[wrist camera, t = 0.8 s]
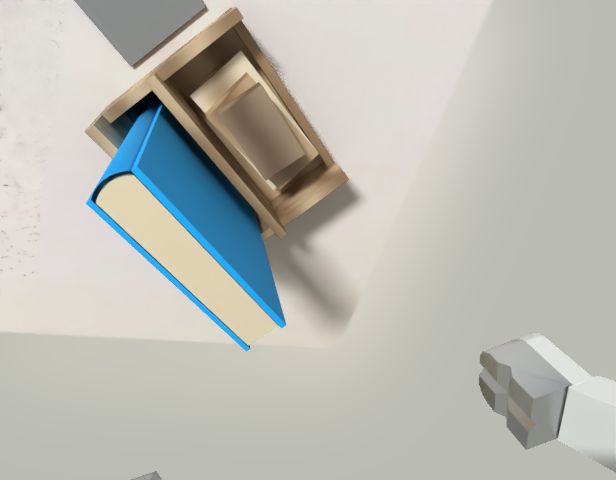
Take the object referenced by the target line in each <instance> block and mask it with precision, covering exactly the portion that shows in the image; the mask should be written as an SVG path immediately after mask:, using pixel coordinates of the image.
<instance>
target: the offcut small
mask: <svg viewBox="0 0 616 480" xmlns="http://www.w3.org/2000/svg"><path fill="white" fill-rule="evenodd" d="M218 114H219V117H220V118H221V120H222V121H223V122H224V124H225V125H226V127H227V128H228V129H229V131H230V132H231V134H232V135H233V136H234V138H235V139H236V140H237V142H238V143H239V145H240V146H241V147H242V149H243V150H244V152H245V153H246V154H247V156H248V157H249V159H250V160H251V161H252V163H253V164H254V165H255V167H256V168H257V170H258V171H259V172H260V174H261V175H262V177H263V178H264V179H265V181H266V180H268V179H269V178H271V177H272V176H274V175H275V174H276V173H278V172H279V171H281V170H282V169H284V168H285V167H287V166H288V165H290V164H291V163H293V162H294V161H296V160H297V159H299V158H300V157H302V156H303V155H305V153H304V151H303V150H302V148H301V146H300V145H299V143H298V142H297V140H296V138H295V137H294V135H293V134H292V132H291V130H290V129H289V127H288V126H287V124H286V122H285V121H284V119H283V118H282V116H281V114H280V113H279V111H278V110H277V108H276V106H275V105H274V103H273V102H272V100H271V98H270V97H269V95H268V94H267V92H266V90H265V89H264V87H263V86H262V85H261V84H260V83H259V82H258V83H257V84H255V85H254V86H252V87H251V88H249V89H248V90H246V91H245V92H244V93H242V94H241V95H239V96H238V97H236V98H235V99H234V100H232V101H231V102H229V103H228V104H226V105H225V106H224V107H222V108H221V109H219V110H218Z"/></svg>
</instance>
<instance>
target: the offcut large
mask: <svg viewBox="0 0 616 480" xmlns="http://www.w3.org/2000/svg"><path fill="white" fill-rule="evenodd" d="M246 72H247V73H248V74H249V75H250V76H251V77H252V78H253V80H254V81H255V82H256V83H258V82H259V83H260V84H261V85H262V86H263V87H264V89H265V90H266V92H267V94H268V95H269V97H270V98H271V100H272V101H273V102H274V103H275V104H276V106H277V107H278V108H279V109H280V110H281V111H282V112H283V114H284V115H285V116H286V117H287V118H288V119H289V120H290V122H291V123H292V124H293V125H294V126H295V127H296V128H297V129H298V131H299V132H300V133H301V134H302V135H303V136H304V137H305V139H306V140H307V141H308V142H309V143H310V144H311V142H310V141H309V140H308V138H307V137H306V136H305V134H304V133H303V132H302V130H301V129H300V128H299V126H298V125H297V124H296V123H295V121H294V120H293V119H292V117H291V116H290V115H289V113H288V112H287V111H286V109H285V108H284V107H283V105H282V104H281V103H280V101H279V100H278V99H277V97H276V96H275V95H274V93H273V92H272V91H271V90H270V88H269V87H268V86H267V84H266V83H265V82H264V80H263V79H262V78H261V76H260V75H259V74H258V72H257V71H256V70H255V68H254V67H253V66H252V64H251V63H250V62H249V61H248V59H247V58H246V57H245V55H244V54H243V53H242V51H241V50H239V49H237V50H236V51H235V52H234V53H233V54H232V55H230V56H229V57H228V58H227V59H226V60H225V61H224V62H222V63H221V64H220V65H219V66H218V67H217V68H216V69H214V70H213V71H212V72H211V73H210V74H209V75H208V76H207V77H205V78H204V79H203V80H202V81H201V82H200V83H199V84H197V85H196V86H195V87H194V88H193V89H192V90H191V91H190V97H191V98H192V99H193V100H194V101H195V103H196V104H197V105H198V106H199V107H200V108H201V109H202V110H203V112H204V113H205V114H206V112H207V111H208V110H209V109H210V108H211V107H212V106H213V105H214V104H215V103H216V102H217V101H218V100H219V99H220V98H221V97H222V96H223V95H224V94H225V93H226V92H227V91H228V90H229V89H230V88H231V87H232V86H233V85H234V84H235V83H236V82H237V81H238V80H239V79H240V78H241V77H242V76H243V75H244V74H245V73H246ZM311 145H312V144H311ZM312 146H313V145H312ZM235 148H236V147H235ZM313 148H314V146H313ZM236 149H237V148H236ZM314 149H315V148H314ZM237 150H238V149H237ZM315 150H316V149H315ZM238 151H239V150H238ZM316 151H317V150H316ZM239 152H240V151H239ZM240 153H241V152H240ZM241 154H242V153H241ZM242 155H243V154H242ZM243 157H244V158H245V159H246V160H247V161H248V162H249V163H250V164H251V166H252V167H253V168H254V169H255V170H256V171H257V172H258V173H259V174H260V172H259V171H258V170H257V168H256V167H255V165H254V164H253V163H252V162H251V161H250V160H249V159H248V158H247V157H246V156H244V155H243ZM260 176H261V177H262V175H261V174H260ZM262 178H263V177H262ZM263 179H264V178H263ZM264 180H265V179H264ZM266 182H267V183H268V185H269V186H270V187H271V188H272V189H273V190H274V189H276V188H277V187H276V186H275V185H274V184H273V183H272V182H271V181H270V180H269V179H268V180H266Z"/></svg>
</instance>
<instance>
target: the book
mask: <svg viewBox="0 0 616 480" xmlns="http://www.w3.org/2000/svg"><path fill="white" fill-rule="evenodd" d="M86 204H87V205H88V206H89V207H90V208H92V209H93V210H94V211H95V212H96V213H97V214H98V215H99V216H100V217H101V218H102V219H103V220H105V221H106V222H107V223H108V224H109V225H110V226H111V227H112V228H113V229H114V230H115V231H116V232H118V233H119V234H120V235H121V236H122V237H123V238H124V239H125V240H126V241H127V242H128V243H130V244H131V245H132V246H133V247H134V248H135V249H136V250H137V251H138V252H139V253H140V254H141V255H143V256H144V257H145V258H146V259H147V260H148V261H149V262H150V263H151V264H152V265H153V266H154V267H156V268H157V269H158V270H159V271H160V272H161V273H162V274H163V275H164V276H165V277H166V278H167V279H169V280H170V281H171V282H172V283H173V284H174V285H175V286H176V287H177V288H178V289H179V290H181V291H182V292H183V293H184V294H185V295H186V296H187V297H188V298H189V299H190V300H191V301H192V302H194V303H195V304H196V305H197V306H198V307H199V308H200V309H201V310H202V311H203V312H204V313H205V314H207V315H208V316H209V317H210V318H211V319H212V320H213V321H214V322H215V323H216V324H217V325H219V326H220V327H221V328H222V329H223V330H224V331H225V332H226V333H227V334H228V335H229V336H230V337H232V338H233V339H234V340H235V341H236V342H237V343H238V344H239V345H240V346H241V347H242V348H243V349H245V350H246V351H248V350H249V349H250V345H251V344H252V343H254V342H255V341H257V340H258V339H260V338H261V337H263V336H264V335H266V334H267V333H269V332H270V331H272V330H274V329H275V328H277V327H278V325H279V326H280V327H281V328H283V327H284V326H286V323H285V319H284V315H283V312H282V308H281V305H280V301H279V297H278V294H277V290H276V287H275V283H274V279H273V276H272V272H271V269H270V265H269V261H268V258H267V254H266V251H265V247H264V243H263V240H262V236H261V233H260V229H259V225H258V222H257V218H256V215H255V211H254V208H253V207H252V206H251V205H250V204H249V203H248V201H247V200H246V199H245V198H244V197H243V196H242V194H241V193H240V192H239V191H238V190H237V189H236V187H235V186H234V185H233V184H232V183H231V182H230V180H229V179H228V178H227V177H226V176H225V175H224V173H223V172H222V171H221V170H220V169H219V168H218V166H217V165H216V164H215V163H214V162H213V161H212V159H211V158H210V157H209V156H208V155H207V154H206V152H205V151H204V150H203V149H202V148H201V147H200V145H199V144H198V143H197V142H196V141H195V140H194V138H193V137H192V136H191V135H190V134H189V133H188V131H187V130H186V129H185V128H184V127H183V126H182V124H181V123H180V122H179V121H178V120H177V119H176V117H175V116H174V115H173V114H172V113H171V112H170V110H169V109H168V108H167V107H166V106H165V105H164V103H163V102H162V101H161V100H160V99H155V100H152V101H150V102H149V103H148V104H147V105H146V106H145V107H144V108H143V110H142V112H141V113H140V115H139V116H138V118H137V120H136V121H135V123H134V125H133V126H132V128H131V130H130V131H129V133H128V135H127V136H126V138H125V140H124V141H123V143H122V145H121V146H120V148H119V150H118V151H117V153H116V154H115V156H114V158H113V159H112V161H111V163H110V164H109V166H108V168H107V169H106V171H105V173H104V174H103V176H102V178H101V179H100V181H99V183H98V184H97V186H96V188H95V189H94V191H93V193H92V194H91V196H90V198H89V199H88V201H87V203H86Z"/></svg>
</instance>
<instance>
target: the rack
mask: <svg viewBox="0 0 616 480" xmlns="http://www.w3.org/2000/svg"><path fill="white" fill-rule="evenodd" d="M242 19H243V16H242V15H241V13H240V12H239V10H238V9H237V8H230V9H229V10H228V11H226V12H225V13H224V14H223V15H221V16H220V17H219V18H218V19H216V20H215V21H214V22H212V23H211V24H210V25H209V26H207V27H206V28H205V29H204V30H202V31H201V32H200V33H199V34H197V35H196V36H195V37H194V38H192V39H191V40H190V41H189V42H187V43H186V44H185V45H184V46H182V47H181V48H180V49H179V50H177V51H176V52H175V53H174V54H172V55H171V56H170V57H169V58H167V59H166V60H165V61H164V62H162V63H161V64H160V65H159V66H157V67H156V68H155V69H154V70H152V71H151V72H150V73H149V74H147V75H146V76H145V77H144V78H142V79H141V80H140V81H138V82H137V83H136V84H135V85H133V86H132V87H131V88H130V89H128V90H127V91H126V92H125V93H123V94H122V95H121V96H120V97H118V98H117V99H116V100H115V101H113V102H112V103H111V104H110V105H108V106H107V107H106V108H105V109H104V110H103V112H102V113H101V114H100V115H99V116H98V117H97V118H96V119H95V121H94V122H93V123H92V124H91V125H90V126H89V127H88V128H87V130H86V131H85V133H86V134H87V135H88V136H89V137H90V138H91V139H92V140H93V141H94V142H95V143H97V144H98V145H99V146H100V147H101V148H102V149H103V150H104V151H105V152H106V153H107V154H108V155H109V156H110V157H111V158H112V159H113V158H114V156H115V154H116V153H117V151H118V150H119V148H120V146H121V145H122V143H123V141H124V140H125V138H126V136H127V135H128V133H129V131H130V130H131V128H132V126H133V125H134V123H133V121H132V120H131V119H130V118H129V117H128V116H127V115H126V114H125V113H124V112H125V111H127V110H128V109H129V108H130V107H132V106H133V105H134V104H136V103H137V102H138V101H139V100H141V99H142V98H143V97H144V96H146V95H147V94H148V93H149V92H151V91H153V92H154V93H155V94H156V95H157V96H158V98H159V99H160V100H161V101H162V102H163V103H164V105H165V106H166V107H167V108H168V109H169V110H170V112H171V113H172V114H173V115H174V116H175V117H176V119H177V120H178V121H179V122H180V123H181V124H182V126H183V127H184V128H185V129H186V130H187V131H188V133H189V134H190V135H191V136H192V137H193V138H194V140H195V141H196V142H197V143H198V144H199V145H200V147H201V148H202V149H203V150H204V151H205V152H206V154H207V155H208V156H209V157H210V158H211V159H212V161H213V162H214V163H215V164H216V165H217V166H218V168H219V169H220V170H221V171H222V172H223V173H224V175H225V176H226V177H227V178H228V179H229V180H230V182H231V183H232V184H233V185H234V186H235V187H236V189H237V190H238V191H239V192H240V193H241V194H242V196H243V197H244V198H245V199H246V200H247V201H248V203H249V204H250V205H251V206H252V207H253V208H254V211H255V215H256V218H257V222H258V225H259V229H260V233H261V236H262V240H263V241H265V240H266V239H268V238H269V237H270V236H272V235H273V234H274V233H275V234H276V235H277V236H278V238H279V239H281V238H283V237H284V236H286V235H287V233H286V231H285V228H284V226H285V225H287V224H288V223H290V222H291V221H292V220H294V219H295V218H296V217H298V216H299V215H301V214H302V213H303V212H305V211H306V210H307V209H309V208H310V207H312V206H313V205H314V204H316V203H317V202H318V201H320V200H321V199H323V198H324V197H325V196H327V195H328V194H329V193H331V192H332V191H334V190H335V189H336V188H338V187H339V186H341V185H342V184H343V183H345V182H346V181H347V180H349V179H348V177H347V176H346V174H345V173H344V172H343V171H342V170H341V169H340V168H339V167H338V165H337V164H336V163H335V162H334V161H333V159H332V158H331V156H330V155H329V153H328V152H327V150H326V149H325V147H324V146H323V144H322V143H321V141H320V140H319V138H318V136H317V135H316V133H315V132H314V130H313V129H312V127H311V126H310V124H309V123H308V121H307V120H306V118H305V117H304V115H303V114H302V112H301V111H300V109H299V108H298V106H297V105H296V103H295V102H294V100H293V98H292V97H291V95H290V94H289V92H288V91H287V89H286V88H285V86H284V85H283V83H282V82H281V80H280V79H279V77H278V76H277V74H276V73H275V71H274V70H273V68H272V67H271V65H270V63H269V62H268V60H267V59H266V57H265V56H264V54H263V53H262V51H261V50H260V48H259V47H258V45H257V44H256V42H255V41H254V39H253V38H252V36H251V35H250V33H249V32H248V30H247V28H246V27H245V25H244V24H243V22H242V21H241V20H242ZM237 49H239V50H241V51H242V53H243V54H244V55H245V57H246V58H247V59H248V61H249V62H250V63H251V64H252V66H253V67H254V68H255V70H256V71H257V72H258V74H259V75H260V76H261V78H262V79H263V80H264V82H265V83H266V84H267V86H268V87H269V88H270V90H271V91H272V92H273V93H274V95H275V96H276V97H277V99H278V100H279V101H280V103H281V104H282V105H283V107H284V108H285V109H286V111H287V112H288V113H289V115H290V116H291V117H292V119H293V120H294V121H295V123H296V124H297V125H298V126H299V128H300V129H301V130H302V132H303V133H304V134H305V136H306V137H307V138H308V140H309V141H310V142H311V144H312V145H313V146H314V148H315V149H316V150H317V152H318V153H319V154H318V155H317V156H316V157H315V158H314V159H313V160H312V161H311V162H310V163H309V164H307V165H306V166H305V167H304V168H303V169H302V170H301V171H300V172H299V173H298V174H297V175H296V176H294V177H293V178H292V179H291V180H290V181H289V182H288V183H287V184H286V185H285V186H284V187H283V188H282V189H280V190H279V189H278V188H276V189H274V190H273V189H272V188H271V187H270V186H269V185H268V183H267V182H266V181H265V180H264V179H263V178H262V177H261V176H260V174H259V173H258V172H257V171H256V170H255V169H254V168H253V167H252V166H251V164H250V163H249V162H248V161H247V160H246V159H245V158H244V157H243V155H242V154H241V153H240V152H239V151H238V150H237V149H236V148H235V146H234V145H233V144H232V143H231V142H230V141H229V140H228V139H227V138H226V137H225V136H224V135H223V134H222V133H221V132H220V131H219V130H218V129H217V128H216V127H215V126H214V125H213V124H212V123H211V122H210V121H209V120H208V119H207V116H206V114H205V113H204V112H203V110H202V109H201V108H200V107H199V106H198V105H197V104H196V103H195V101H194V100H193V99H192V98H191V97H190V91H191V90H192V89H193V88H194V87H195V86H196V85H197V84H199V83H200V82H201V81H202V80H203V79H204V78H205V77H207V76H208V75H209V74H210V73H211V72H212V71H213V70H214V69H216V68H217V67H218V66H219V65H220V64H221V63H222V62H224V61H225V60H226V59H227V58H228V57H229V56H230V55H232V54H233V53H234V52H235V51H236V50H237Z"/></svg>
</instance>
